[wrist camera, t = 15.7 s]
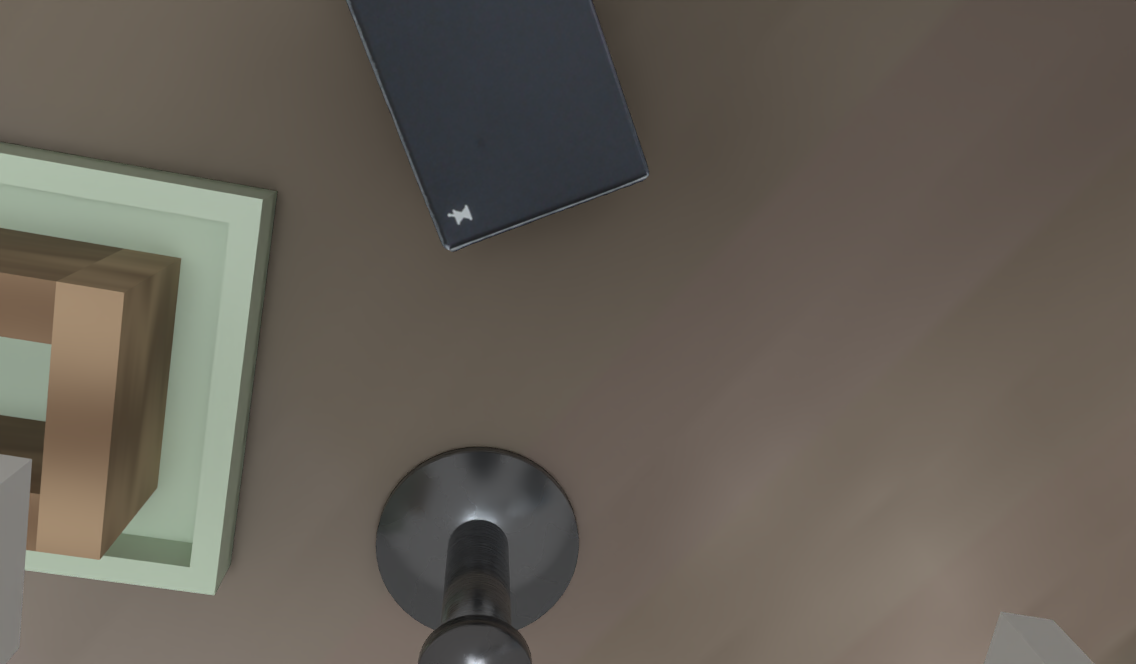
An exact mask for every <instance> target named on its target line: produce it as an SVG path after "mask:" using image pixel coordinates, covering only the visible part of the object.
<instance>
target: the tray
mask: <svg viewBox="0 0 1136 664" xmlns="http://www.w3.org/2000/svg"><path fill="white" fill-rule="evenodd" d="M276 199H277V191H274V190H268V189H262V188H257V187H251V186H246V185H240V184H234V183H229V182H223V181H218V180H212V179H206V178H201V177H195V176H190V175H184V174H178V173H173V172H167V171H162V170H156V169H150V168H145V167H139V166H134V165H128V164H122V163H117V162H111V161H106V160H100V159H94V158H89V157H83V156H78V155H72V154H66V153H61V152H55V151H50V150H44V149H38V148H33V147H27V146H22V145H16V144H10V143H5V142H0V228H5V229H11V230H17V231H23V232H29V233H35V234H41V235H47V236H52V237H58V238H64V239H70V240H76V241H82V242H88V243H94V244H100V245H106V246H112V247H118V248H124V249H130V250H136V251H142V252H148V253H154V254H159V255H165V256H171V257H177V258H181V266H180V276H179V285H178V295H177V304H176V314H175V324H174V333H173V343H172V352H171V362H170V372H169V381H168V391H167V400H166V410H165V420H164V429H163V439H162V448H161V458H160V468H159V477H158V487H157V489H156V490H155V491H154V493H153V494H152V495H151V496H150V498H149V499H148V500H147V501H146V503H145V504H144V505H143V506H142V508H141V509H140V510H139V511H138V513H137V514H136V515H135V516H134V518H133V519H132V520H131V521H130V523H129V524H128V525H127V526H126V528H125V529H124V530H123V531H122V533H121V534H120V535H119V536H118V538H117V539H116V540H115V541H114V543H113V544H112V545H111V546H110V548H109V549H108V550H107V552H106V553H105V554H104V555H103V557H102V558H101V559H100V560H96V559H89V558H81V557H74V556H66V555H59V554H51V553H44V552H36V551H29V550H26V557H25V570H28V571H36V572H43V573H51V574H58V575H66V576H73V577H81V578H88V579H96V580H103V581H111V582H118V583H126V584H133V585H141V586H148V587H156V588H164V589H171V590H179V591H186V592H194V593H201V594H209V595H215V593H216V591H217V589H218V587H219V586H220V584H221V582H222V580H223V578H224V576H225V574H226V572H227V570H228V568H229V567H230V565H231V558H232V550H233V542H234V534H235V526H236V518H237V510H238V502H239V494H240V486H241V478H242V470H243V462H244V454H245V446H246V438H247V430H248V422H249V414H250V406H251V398H252V390H253V382H254V374H255V366H256V358H257V350H258V342H259V334H260V326H261V318H262V310H263V302H264V294H265V286H266V278H267V270H268V262H269V255H270V247H271V239H272V231H273V223H274V215H275V207H276ZM50 357H51V344H45V343H39V342H32V341H26V340H19V339H13V338H7V337H0V415H5V416H11V417H18V418H25V419H32V420H38V421H45V422H46V410H47V397H48V384H49V371H50Z"/></svg>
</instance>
